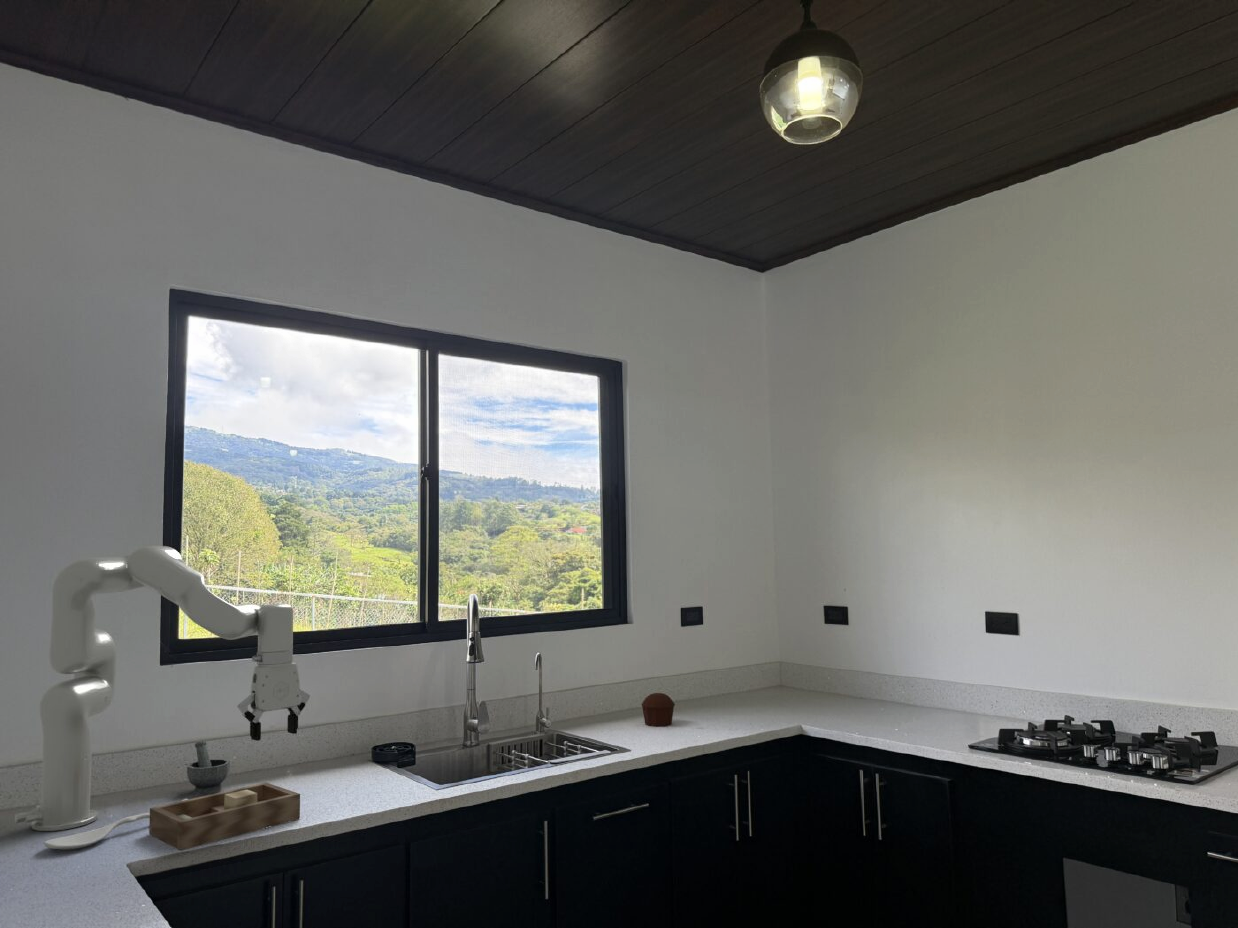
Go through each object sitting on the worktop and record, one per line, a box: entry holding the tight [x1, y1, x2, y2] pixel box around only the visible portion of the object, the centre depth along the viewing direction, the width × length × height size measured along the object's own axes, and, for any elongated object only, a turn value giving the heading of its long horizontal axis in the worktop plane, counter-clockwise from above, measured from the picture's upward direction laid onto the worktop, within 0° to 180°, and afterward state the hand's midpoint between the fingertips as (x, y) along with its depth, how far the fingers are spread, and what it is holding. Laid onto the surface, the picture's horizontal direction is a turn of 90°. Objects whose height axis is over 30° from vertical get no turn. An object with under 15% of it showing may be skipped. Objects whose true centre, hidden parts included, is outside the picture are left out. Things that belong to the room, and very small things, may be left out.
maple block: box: [224, 790, 257, 810], centre depth 194 cm, size 5×5×4 cm
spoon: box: [43, 798, 189, 851], centre depth 191 cm, size 9×32×4 cm, turn 146°
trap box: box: [148, 782, 301, 851], centre depth 194 cm, size 26×16×6 cm, turn 138°
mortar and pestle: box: [186, 740, 231, 796], centre depth 224 cm, size 11×9×12 cm
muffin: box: [640, 692, 676, 728], centre depth 295 cm, size 12×11×10 cm
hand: (274, 735), depth 201 cm, fingers open, 8 cm apart
